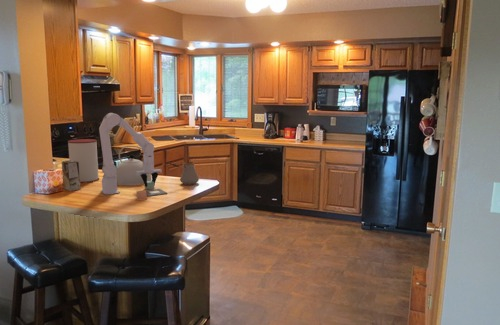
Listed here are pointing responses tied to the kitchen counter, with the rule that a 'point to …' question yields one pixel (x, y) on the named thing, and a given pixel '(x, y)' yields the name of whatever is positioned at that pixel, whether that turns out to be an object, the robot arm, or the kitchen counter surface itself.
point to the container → (85, 158)
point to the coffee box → (71, 175)
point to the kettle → (130, 171)
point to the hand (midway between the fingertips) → (149, 186)
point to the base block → (150, 185)
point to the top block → (141, 195)
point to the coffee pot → (188, 173)
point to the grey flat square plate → (155, 192)
